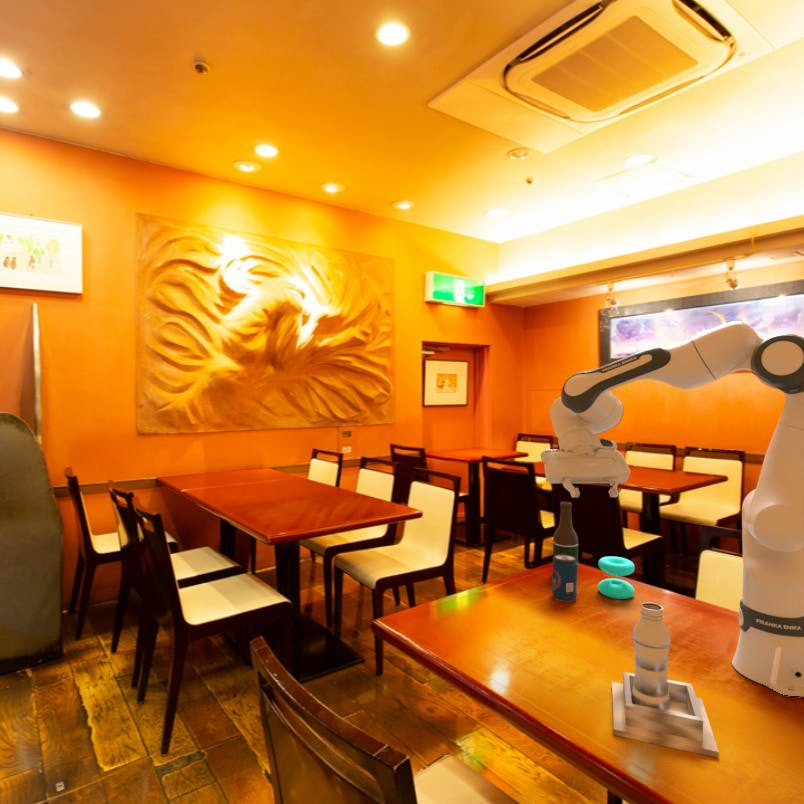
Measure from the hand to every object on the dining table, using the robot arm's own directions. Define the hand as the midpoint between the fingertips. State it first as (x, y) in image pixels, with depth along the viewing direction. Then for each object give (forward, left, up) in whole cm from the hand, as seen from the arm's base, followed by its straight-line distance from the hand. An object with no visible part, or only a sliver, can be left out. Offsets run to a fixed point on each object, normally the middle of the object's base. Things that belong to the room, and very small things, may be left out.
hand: (595, 496), depth 124 cm
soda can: (+8, -27, -36) cm, 45 cm away
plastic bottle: (-10, +27, -35) cm, 45 cm away
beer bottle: (+9, -46, -36) cm, 59 cm away
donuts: (-6, -36, -36) cm, 51 cm away
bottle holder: (-12, +25, -35) cm, 45 cm away
